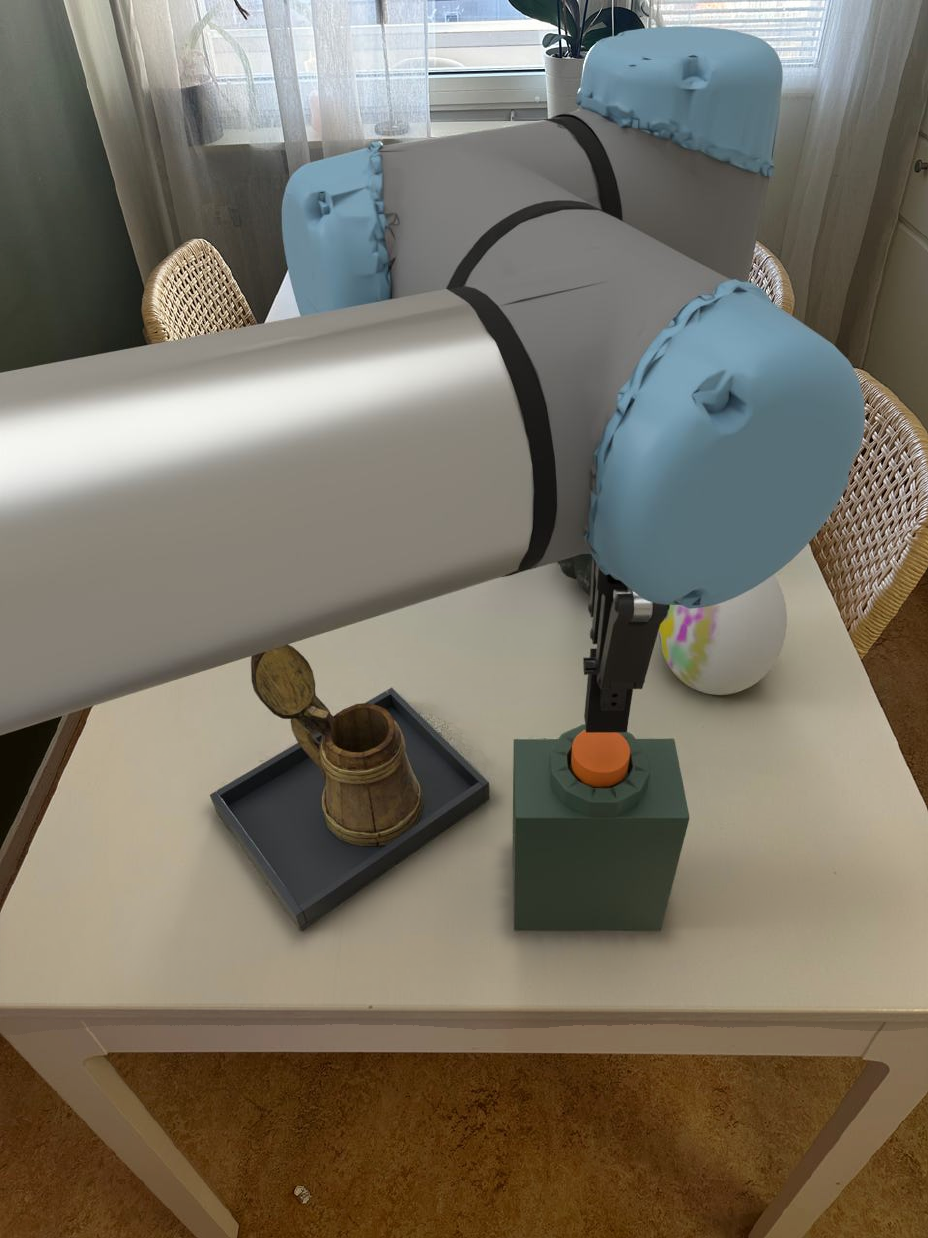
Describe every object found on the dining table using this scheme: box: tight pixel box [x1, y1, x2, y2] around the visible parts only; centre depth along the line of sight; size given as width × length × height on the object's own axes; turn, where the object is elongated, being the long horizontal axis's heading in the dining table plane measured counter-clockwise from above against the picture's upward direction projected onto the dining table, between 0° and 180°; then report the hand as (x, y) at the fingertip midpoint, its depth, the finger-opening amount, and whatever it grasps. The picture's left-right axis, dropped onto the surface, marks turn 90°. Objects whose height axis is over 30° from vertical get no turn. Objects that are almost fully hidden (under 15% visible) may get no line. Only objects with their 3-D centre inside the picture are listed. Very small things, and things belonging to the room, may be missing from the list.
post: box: [511, 723, 691, 932], centre depth 67 cm, size 12×7×18 cm, turn 89°
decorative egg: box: [658, 574, 788, 696], centre depth 87 cm, size 12×12×15 cm
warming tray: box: [209, 687, 491, 932], centre depth 80 cm, size 20×15×3 cm
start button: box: [571, 730, 630, 788], centre depth 61 cm, size 4×4×2 cm
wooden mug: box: [250, 644, 424, 846], centre depth 74 cm, size 9×14×18 cm, turn 68°
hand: (605, 723), depth 58 cm, fingers closed
